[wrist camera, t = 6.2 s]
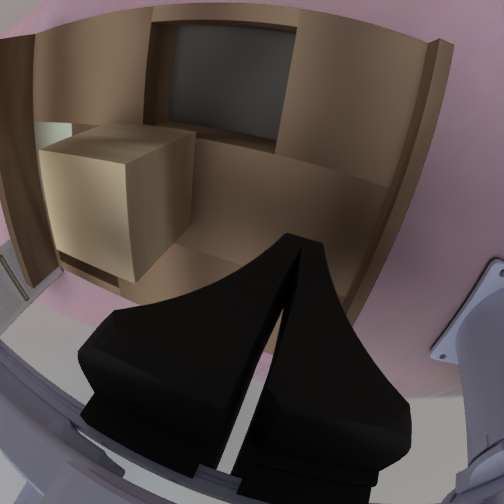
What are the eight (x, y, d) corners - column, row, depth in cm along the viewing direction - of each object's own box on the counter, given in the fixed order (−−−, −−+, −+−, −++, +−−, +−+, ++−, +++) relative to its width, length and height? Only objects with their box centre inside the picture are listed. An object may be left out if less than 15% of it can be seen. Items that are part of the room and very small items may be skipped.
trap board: (425, 54, 9) (471, 40, 4) (325, 338, 19) (310, 411, 14) (48, 36, 13) (-18, 47, 8) (63, 242, 22) (19, 279, 18)
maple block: (196, 131, 11) (125, 164, 8) (190, 226, 14) (135, 283, 10) (113, 121, 12) (38, 149, 9) (116, 205, 15) (56, 249, 11)
